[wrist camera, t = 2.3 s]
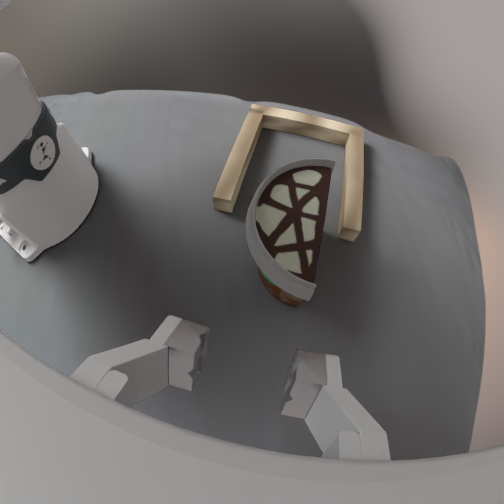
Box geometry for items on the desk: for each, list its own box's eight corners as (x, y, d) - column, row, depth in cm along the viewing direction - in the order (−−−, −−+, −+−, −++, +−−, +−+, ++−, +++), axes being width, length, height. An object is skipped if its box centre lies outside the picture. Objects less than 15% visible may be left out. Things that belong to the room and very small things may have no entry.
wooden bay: (214, 209, 32) (212, 196, 30) (252, 117, 39) (252, 104, 37) (353, 241, 31) (360, 231, 29) (358, 141, 38) (363, 129, 35)
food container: (262, 203, 33) (266, 140, 24) (314, 215, 32) (336, 156, 23) (231, 306, 28) (223, 270, 19) (292, 321, 27) (315, 293, 18)
